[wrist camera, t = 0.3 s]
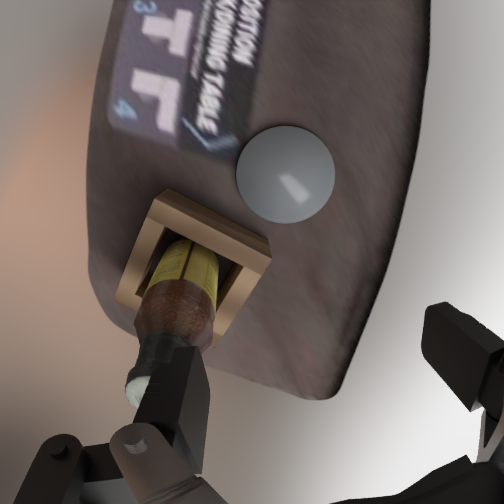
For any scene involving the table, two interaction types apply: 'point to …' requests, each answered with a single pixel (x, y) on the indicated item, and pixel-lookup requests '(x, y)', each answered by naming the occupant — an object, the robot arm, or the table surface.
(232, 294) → the walnut holder
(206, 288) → the sauce bottle
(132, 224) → the table surface
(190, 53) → the table surface
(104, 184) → the table surface
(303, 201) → the slate coaster
